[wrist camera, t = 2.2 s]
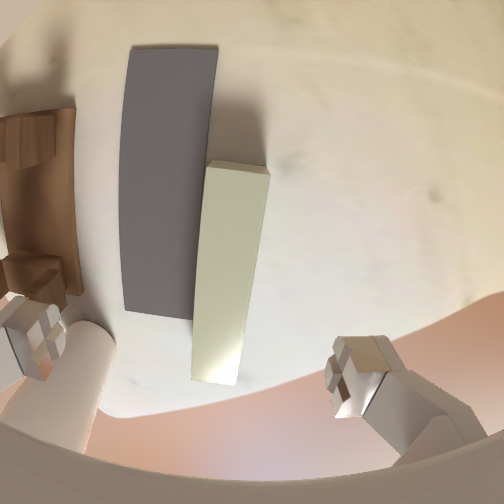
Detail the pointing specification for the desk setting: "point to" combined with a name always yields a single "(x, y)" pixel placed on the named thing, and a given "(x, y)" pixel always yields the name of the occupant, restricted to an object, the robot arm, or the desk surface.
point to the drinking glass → (66, 390)
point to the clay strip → (226, 266)
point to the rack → (39, 206)
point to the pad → (163, 176)
